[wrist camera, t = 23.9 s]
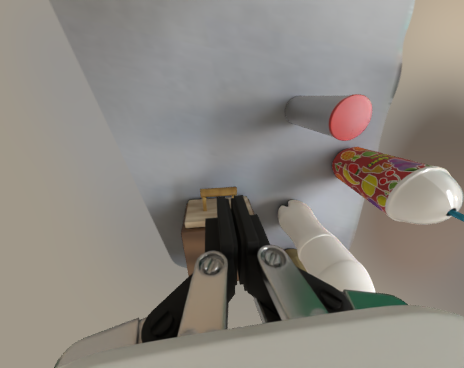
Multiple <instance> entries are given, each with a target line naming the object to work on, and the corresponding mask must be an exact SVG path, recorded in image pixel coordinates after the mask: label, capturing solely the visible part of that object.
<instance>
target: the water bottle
mask: <svg viewBox="0 0 464 368" xmlns="http://www.w3.org/2000/svg"><path fill="white" fill-rule="evenodd" d="M288 205H289V206H288V207H286V206H283V205H282V206H281V207H280V208H279V210H278V219H279V224H280V226H281V228H282V229H283V230H284V231H285V232H286V233H287V234H288V235H289V237H290V238H291V239H292V241H293V242H294V244H295V246H296V248H297V253H298V257H299V259H300V261H301V262H302V264H303V265H304V267H305V269H306V271H307V273H309V274H311V275H313V276H315V277H317V278H319V279H320V280H322V281H324V282H326V283H328V284H330V285H332V286H333V287H335V288H336V289H338V290H339V291H342V292H343V290H344V289H346V290H355V291H364V292H374V293H375V289H374V286H373V283H372V280H371V278H370V276H369V274H368V272H367V270H366V269H365V268H364V267H363V265H362V264H361V263H359V262H358V261H357V260H356V259H355V258H354V257H353V255H352V254H351V253H350V252H349V251H348V250H347V249H346V248H345V247H344V246H343V244H342V243H341V242H340V241H339V240H338V239H337V238H336V237H335V236H334V235H332V234H331V233H330V232H329V231H327V230H326V229H325V228H324V227H323V226H322V225H321V224H320V222H319V221H318V220H317V219H316V217H315V216H314V214H313V212H312V209H311V208H310V207H309V206H307V205H306V204H304V203H303V202H301V201H298V200H290V201H288Z"/></svg>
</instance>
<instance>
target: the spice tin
mask: <svg viewBox="0 0 464 368" xmlns="http://www.w3.org/2000/svg"><path fill="white" fill-rule="evenodd" d="M285 116H286V119H287V120H288V121H289V122H290V123H292V124H295V125H298V126H301V127H304V128H307V129H310V130H314V131H317V132H320V133H323V134H326V135H329V136H332V137H334V138H336V139H338V140H342V141H346V140H351V139H353V138H355V137H357V136H358V135H360V134H361V133H362V132H363V131H364V130H365V128H366V127H367V126H368V124H369V122H370V119H371V116H372V104H371V102H370V100H369V99H368V98H367V97H366V96H364V95H350V96H296V97H294V98H292V99H291V100H290V101H289V102H288V104H287V106H286V109H285Z"/></svg>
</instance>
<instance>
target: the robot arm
mask: <svg viewBox="0 0 464 368" xmlns="http://www.w3.org/2000/svg"><path fill="white" fill-rule="evenodd" d="M216 199H217V218H205V253H203V254H202V255H200V256H199V257H198V259H197V261H196V263H195V267H194V271H193V273H192V274H191V275H190V276H189V277H188V278H187V279H186V280H185V281H184V282H183V283H182V284H181V285H180V286H178V287H177V288H176V289H175V290H174V291H173V292H172V293H171V294H170V295H169V296H168V297H167V298H166V299H165V300H163V302H161V303H160V304H159V305H158V306H157V307H156V308H155V309H154V310H153V311H152V312H151V313H150V314H149V315H148V317H146V318H143V319H141V320H139V318H137V319H134V320H131V321H128V322H126V323H123V324H120V325H118V326H115V327H112V328H109V329H107V330H104V331H101V332H99V333H96V334H93V335H91V336H88V337H86V338H83V339H81V340H79V341H77V342H75V343H74V344H73V345H72V346H70V347H69V348H68V349H67V350H66V351H65V352H64V353H63V355H62V356H61V357H60V358H59V359H58V361H57V363H56V365H55V367H54V368H464V317H463V316H461V315H458V314H455V313H452V312H448V311H444V310H440V309H436V308H430V307H424V306H416V305H408V304H406V303H405V302H404V301H402V300H401V299H399V298H397V297H395V296H393V295H389V294H383V293H374V292H364V291H355V290H346V289H344V290H343V292H342V291H339V290H338V289H336V288H335V287H333V286H332V285H330V284H328V283H326V282H324V281H322V280H320V279H319V278H317V277H315V276H313V275H311V274H309V273H307V272H306V271H304V270H302V269H300V268H298V267H296V266H295V264H294V263H293V261H292V260H291V258H290V257H289V256H288V254H287V253H286V252H285V251H284V250H283V249H282V248H280V247H278V246H275V245H270V243H269V241H268V239H267V236H266V234H265V232H264V229H263V227H262V225H261V222H260V220H259V217H258V215H257V214H255V215H250V214H249V211H248V208H247V206H246V203H245V200H244V197H243V195H238V196H234V198H231V208H230V203H229V199H228V198H227V199H225V196H223V197H216ZM237 271H238V277H239V282H240V284H243V285H244V290H245V291H248V293H249V294H251V295H252V296H253V297H254V301H255V304H256V307H257V310H258V312H259V315H260V318H261V320H262V323H263V324H258V325H252V326H245V327H238V328H232V329H228V303H229V301H230V300H231V299H232V297H233V296H234V294H235V285H237Z"/></svg>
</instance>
